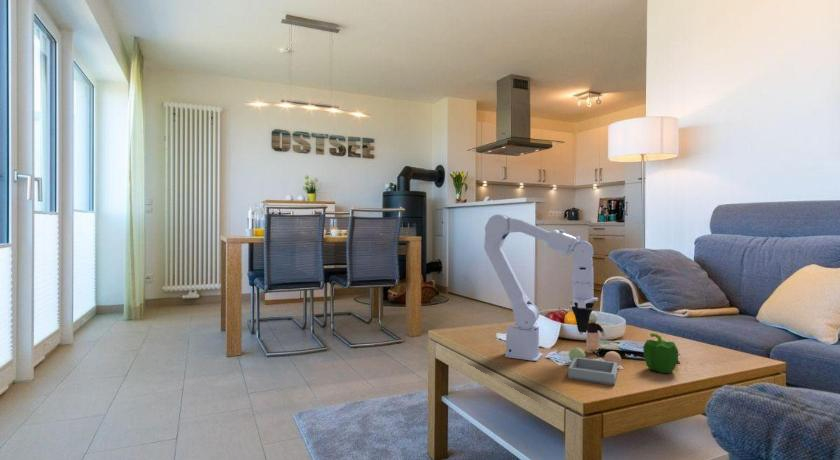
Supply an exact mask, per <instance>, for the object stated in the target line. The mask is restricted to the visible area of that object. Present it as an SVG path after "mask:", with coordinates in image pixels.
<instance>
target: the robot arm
mask: <svg viewBox="0 0 840 460" xmlns="http://www.w3.org/2000/svg"><path fill="white" fill-rule="evenodd" d="M484 232H485V233H484V243H483V245H484V251H485V253H486V255H487V257H488V259H489V260H490V261H489V262H490V263H491V265H492V267H493V269H494V271H495V273H496V276H498V279H499V280H500V284H501V285H502V286H503V289H504V290H505V293H506V295H507V297H508V299H509V301H510V307H511V309H512V312H513V321H514V325H508V327H507V329H506V336H505V340H506V341H505V352H506V353H505V356H504V357H505V358H510V359H517V360H518V359H519V360H527V361H533V362H537V361H538V360H539V359H540V358H541V357H542V356H543V353H542V352H540V325H539V324H538V323H537V322H536V321H537V320H538V319H539V317H540V311H539V308H538V306H537V305H535V304H534V303H533V302H532V301H531V300H530V297H529V296H528V295H527V294H526V292H525V291H524V289H523V286H522V285H521V283H520V281H519V280H518V277H517V275H516V273H515V271H514V269H513V267H512V265H511V264H510V262H509V259H508V258H507V255H506V254H505V251H504V250H503V245H504V242H505V240H506V238H507V237H508V236H509V234H510V233H522V234H524V235H527V236H530V237H533V238H536V239H538V240H541V241H544V242H545V243H546V245H547V248H549V249H551V250H554V251H556V252H559V253H561V254H563V255H566V256H572V257H573V259H572V260H573V261H572V262H573V265H572V297H571V301H573V305H572V306H571V311H572V312H573V315H574V318H575V322H576V327H577V331H578V333H579V332H583V333H587V327H588V323H590V322H589V317H590V314H591V312H593V310H594V305H595V302H598V301H599V298H598V297H594V288H595V287H594V284H595V283H594V281H595V280H594V279H595V278H594V266H593V264H594V260H593V257H594V253H595V251H594V246H593V245H592V244H591V243H590V242H588V241H587V240H584V239H581V237H580V236H576V237H575V236H573V235H570V234H568V233H565V230H563V229H559V230H558V229H554V230H551V231H548V230H546V229H545V228H544V229H543V228H541V227H539V226H536V225H535V224H532V223H530V222H528V221H526V220H523V219H519V218H516V217H511V216H507V215H504V214H494V215H492V216H490V217H489V218H488V220H487V222H486V224H485V226H484Z"/></svg>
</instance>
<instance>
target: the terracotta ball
mask: <svg viewBox="0 0 840 460" xmlns="http://www.w3.org/2000/svg"><path fill="white" fill-rule="evenodd" d="M603 361H608V362H616V363H617V368H618V367H620V366H621V363H622V357H621V355H620V354H619V353H618V352H617V351H614V350H613V351H612V350H611V351H608V352H606V354H604V358H603Z"/></svg>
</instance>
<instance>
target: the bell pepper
mask: <svg viewBox="0 0 840 460" xmlns="http://www.w3.org/2000/svg"><path fill="white" fill-rule="evenodd" d="M649 335H650V338H653V337H654V338H656V339H657V340H654V339H647V340H646V342H644V345H643V349H642V350H643V357H644V362H645V363H646V364H645V365H646V367H647V368H648V370H651V371H655V372H659V373H661V374H670V373H673V371H674V370H675V368H676V366H677V362H678V358H679V349H678V347H677V345H676V343H675V342H674V341H665V340H664V339H662V336H661V335H659V334H658V333H654V332H653V333H650V334H649Z"/></svg>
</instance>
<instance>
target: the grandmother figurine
mask: <svg viewBox="0 0 840 460" xmlns="http://www.w3.org/2000/svg"><path fill="white" fill-rule="evenodd" d="M598 316H599V315H598V314H597V312H596V311H592V312H591V314H590V317H589V323H588V327H587V332H586V350H585V351H586V352H587V353H589V354H593V352H594V353H595V354H598V353H597V350H598V349H599V348H600V349H601V344H600V334H601V336H602V337H604V338H605V337H606V336H607V335H606V333H605V331H604V328H603V327H602V326H601V325H600V324H599V323H596V322H597V320H598V318H599V317H598ZM599 332H600V334H599ZM583 333H584V332H579V331H578V334H579V335H583ZM593 350H594V351H593Z"/></svg>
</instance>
